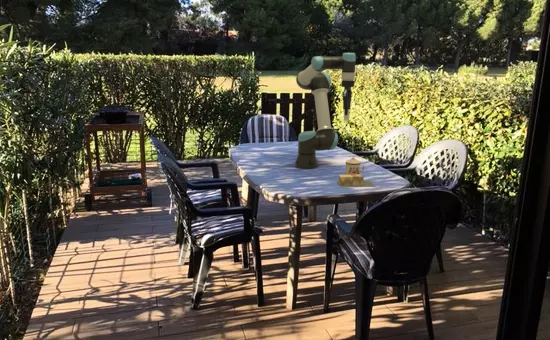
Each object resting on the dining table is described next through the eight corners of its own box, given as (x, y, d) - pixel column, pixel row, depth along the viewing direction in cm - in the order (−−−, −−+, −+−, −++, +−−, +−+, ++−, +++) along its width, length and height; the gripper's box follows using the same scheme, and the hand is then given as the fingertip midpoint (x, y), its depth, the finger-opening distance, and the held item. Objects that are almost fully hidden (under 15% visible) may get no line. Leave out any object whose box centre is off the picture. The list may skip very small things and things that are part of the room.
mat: (369, 181, 258) (369, 180, 258) (376, 187, 246) (376, 186, 246) (336, 182, 256) (336, 181, 256) (341, 188, 244) (341, 187, 244)
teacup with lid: (347, 178, 266) (348, 159, 263) (343, 174, 275) (343, 156, 272) (366, 177, 268) (367, 158, 265) (361, 174, 276) (362, 155, 274)
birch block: (361, 174, 253) (338, 174, 251) (363, 176, 248) (341, 177, 246) (360, 182, 254) (338, 183, 252) (363, 185, 249) (340, 185, 248)
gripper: (351, 80, 250) (349, 122, 256) (357, 79, 262) (355, 119, 267) (338, 80, 253) (337, 121, 259) (344, 79, 265) (343, 118, 270)
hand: (346, 120), depth 263 cm, fingers closed
